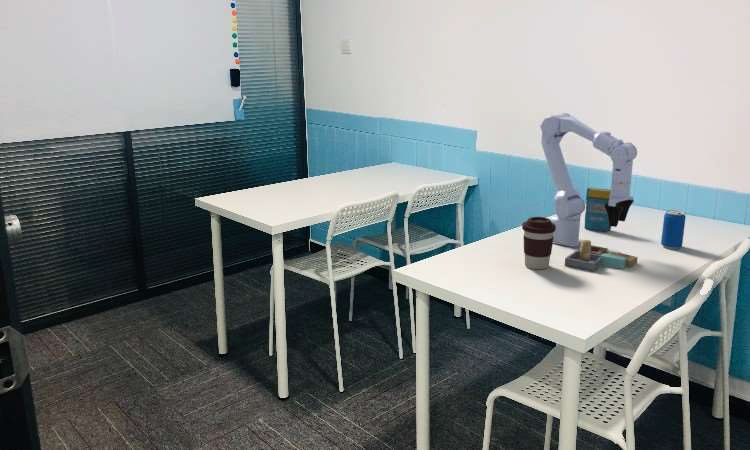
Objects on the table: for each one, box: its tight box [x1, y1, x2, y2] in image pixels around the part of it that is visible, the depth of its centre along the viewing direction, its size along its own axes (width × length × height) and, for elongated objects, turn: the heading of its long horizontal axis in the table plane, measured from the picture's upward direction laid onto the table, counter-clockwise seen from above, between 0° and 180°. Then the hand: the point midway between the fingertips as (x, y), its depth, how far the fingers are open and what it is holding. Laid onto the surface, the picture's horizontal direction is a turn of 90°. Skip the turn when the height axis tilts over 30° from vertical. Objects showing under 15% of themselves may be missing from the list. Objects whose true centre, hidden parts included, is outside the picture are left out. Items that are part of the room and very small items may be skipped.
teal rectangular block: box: [600, 253, 627, 270], centre depth 201 cm, size 7×3×3 cm, turn 53°
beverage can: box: [660, 209, 686, 250], centre depth 217 cm, size 6×6×12 cm
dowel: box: [579, 239, 592, 262], centre depth 202 cm, size 3×3×7 cm
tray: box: [564, 250, 602, 272], centre depth 203 cm, size 9×9×2 cm
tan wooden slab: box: [608, 251, 639, 268], centre depth 204 cm, size 8×5×2 cm, turn 44°
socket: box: [577, 244, 609, 255], centre depth 210 cm, size 7×7×2 cm
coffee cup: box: [521, 216, 556, 270], centre depth 200 cm, size 10×10×15 cm
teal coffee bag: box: [584, 187, 612, 233], centre depth 236 cm, size 10×4×15 cm, turn 58°
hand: (617, 223), depth 209 cm, fingers open, 7 cm apart
